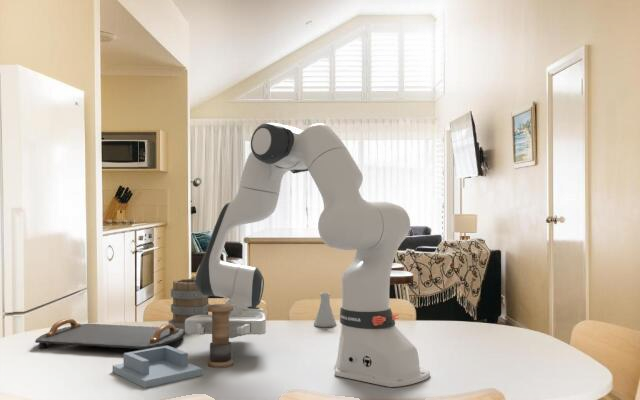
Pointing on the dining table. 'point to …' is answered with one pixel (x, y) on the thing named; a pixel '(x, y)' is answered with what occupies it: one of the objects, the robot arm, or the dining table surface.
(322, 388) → the dining table surface
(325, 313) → the flask
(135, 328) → the serving board
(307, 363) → the dining table surface
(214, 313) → the bobbin
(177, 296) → the tankard
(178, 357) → the notched block
